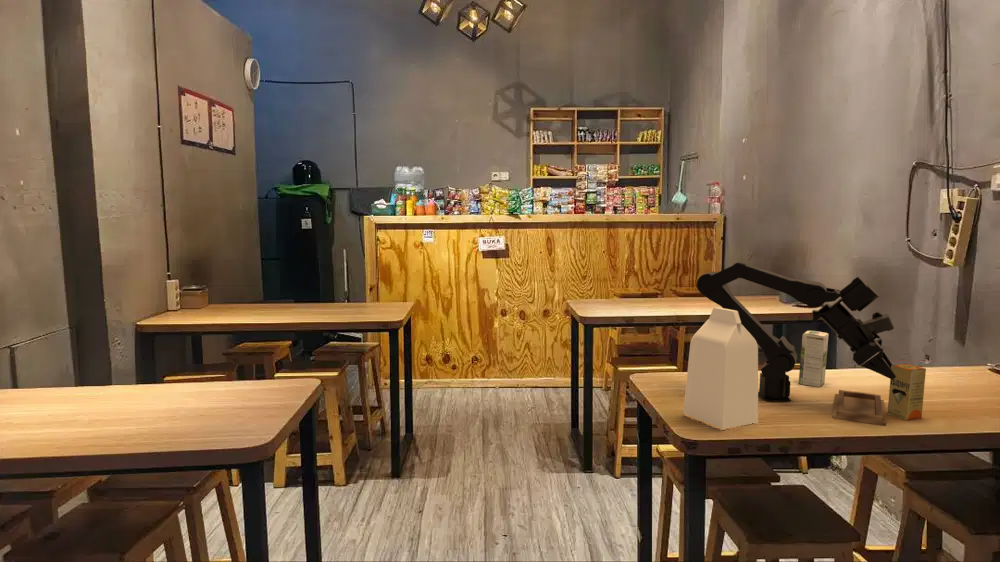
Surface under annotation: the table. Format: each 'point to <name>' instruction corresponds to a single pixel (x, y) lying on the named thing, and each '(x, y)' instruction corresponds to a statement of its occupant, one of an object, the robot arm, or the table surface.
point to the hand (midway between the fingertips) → (893, 373)
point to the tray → (859, 407)
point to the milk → (722, 372)
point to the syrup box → (813, 358)
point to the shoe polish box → (906, 391)
